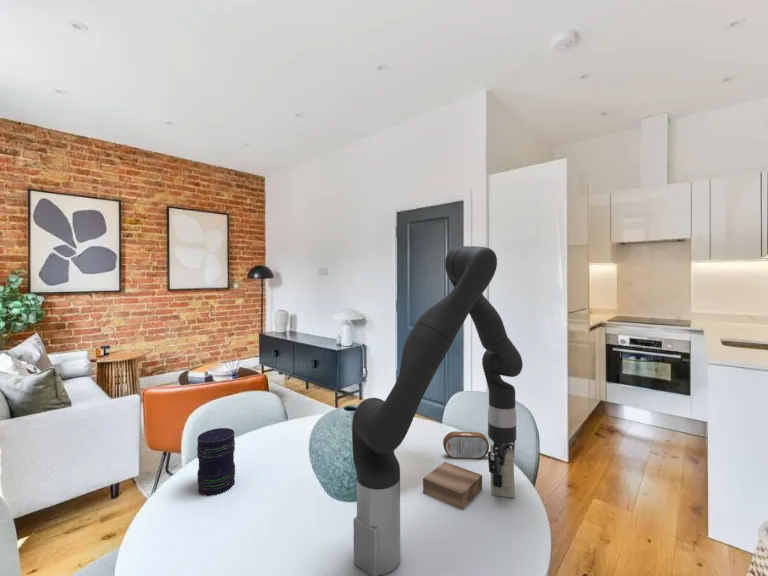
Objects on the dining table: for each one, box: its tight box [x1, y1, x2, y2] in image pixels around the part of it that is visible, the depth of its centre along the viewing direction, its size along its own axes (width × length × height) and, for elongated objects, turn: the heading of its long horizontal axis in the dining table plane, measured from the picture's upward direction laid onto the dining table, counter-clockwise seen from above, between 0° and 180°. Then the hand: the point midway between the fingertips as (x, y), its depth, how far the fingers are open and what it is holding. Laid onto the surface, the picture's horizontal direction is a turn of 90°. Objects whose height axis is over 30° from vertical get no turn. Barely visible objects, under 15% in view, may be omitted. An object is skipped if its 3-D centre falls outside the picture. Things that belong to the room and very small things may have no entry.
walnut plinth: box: [422, 461, 483, 510], centre depth 101 cm, size 12×12×4 cm
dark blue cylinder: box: [196, 427, 236, 497], centre depth 103 cm, size 10×10×15 cm
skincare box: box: [489, 444, 516, 498], centre depth 100 cm, size 6×4×12 cm
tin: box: [442, 430, 490, 460], centre depth 120 cm, size 15×3×8 cm, turn 86°
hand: (502, 481), depth 100 cm, fingers closed on skincare box, 5 cm apart
